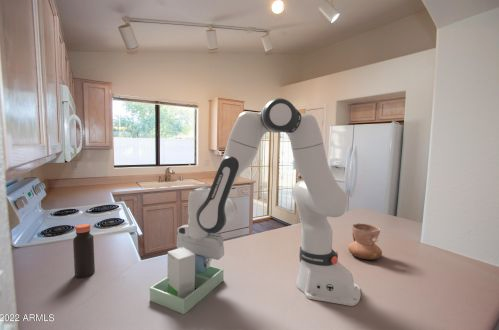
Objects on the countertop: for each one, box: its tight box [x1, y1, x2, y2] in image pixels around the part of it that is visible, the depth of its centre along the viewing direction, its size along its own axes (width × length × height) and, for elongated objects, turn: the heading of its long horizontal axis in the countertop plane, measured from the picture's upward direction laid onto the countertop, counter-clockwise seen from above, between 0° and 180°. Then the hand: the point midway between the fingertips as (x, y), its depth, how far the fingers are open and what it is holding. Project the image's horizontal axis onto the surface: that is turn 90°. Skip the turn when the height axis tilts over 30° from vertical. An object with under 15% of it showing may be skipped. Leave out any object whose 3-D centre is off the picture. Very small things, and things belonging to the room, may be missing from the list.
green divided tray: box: [149, 265, 224, 315], centre depth 88 cm, size 15×22×4 cm
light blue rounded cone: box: [195, 254, 208, 273], centre depth 94 cm, size 5×5×6 cm
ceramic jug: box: [348, 222, 383, 261], centre depth 117 cm, size 18×14×14 cm
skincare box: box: [166, 247, 196, 299], centre depth 84 cm, size 8×7×16 cm
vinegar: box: [72, 223, 96, 279], centre depth 99 cm, size 7×7×20 cm
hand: (199, 265), depth 94 cm, fingers closed on light blue rounded cone, 5 cm apart
